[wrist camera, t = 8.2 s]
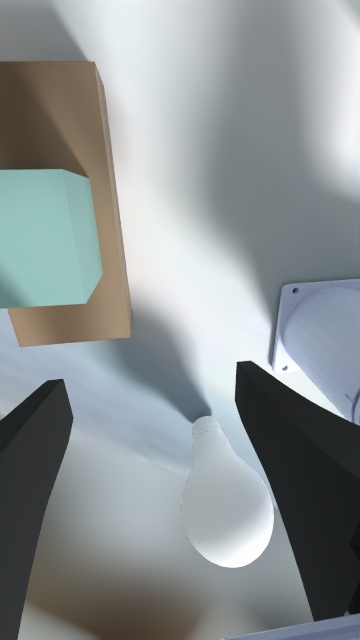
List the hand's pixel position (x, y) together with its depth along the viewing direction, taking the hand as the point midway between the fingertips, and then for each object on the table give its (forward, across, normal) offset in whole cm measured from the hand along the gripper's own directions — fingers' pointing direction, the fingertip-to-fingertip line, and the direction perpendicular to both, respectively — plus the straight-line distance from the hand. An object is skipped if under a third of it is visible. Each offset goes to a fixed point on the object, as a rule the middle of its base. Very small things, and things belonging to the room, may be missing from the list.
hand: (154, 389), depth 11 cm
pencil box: (+10, +5, -6) cm, 13 cm away
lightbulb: (+10, -4, +12) cm, 16 cm away
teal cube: (+7, +5, -6) cm, 10 cm away
